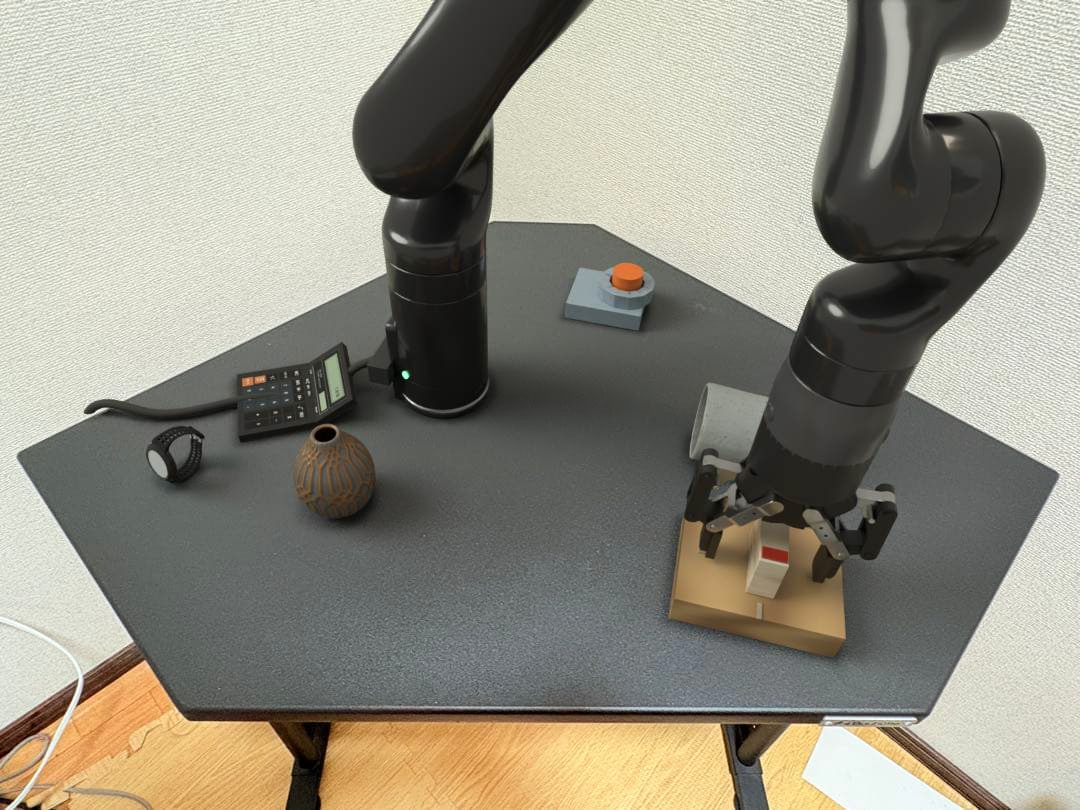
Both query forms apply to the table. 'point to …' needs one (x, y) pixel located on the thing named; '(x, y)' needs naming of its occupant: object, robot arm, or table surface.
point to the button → (627, 277)
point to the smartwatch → (164, 460)
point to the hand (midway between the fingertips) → (762, 561)
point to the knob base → (723, 604)
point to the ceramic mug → (726, 422)
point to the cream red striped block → (767, 557)
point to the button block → (607, 300)
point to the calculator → (296, 396)
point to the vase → (333, 473)
